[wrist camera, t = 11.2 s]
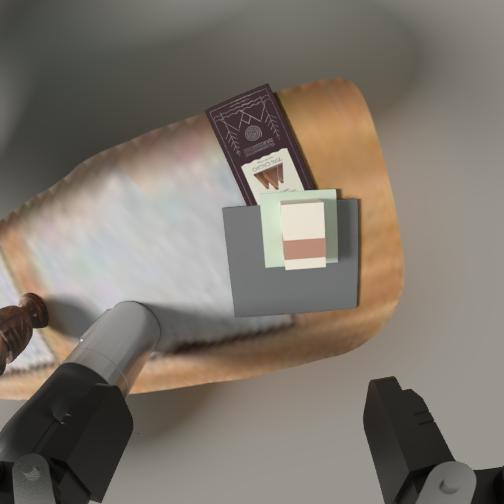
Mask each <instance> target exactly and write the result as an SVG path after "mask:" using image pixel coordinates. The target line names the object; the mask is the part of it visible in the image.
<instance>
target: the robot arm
mask: <svg viewBox="0 0 504 504" xmlns="http://www.w3.org/2000/svg"><path fill="white" fill-rule="evenodd" d="M159 337H160V327H159V324H158V321H157V320H156V318H155V316H154V315H153V314H152V313H151V311H149V310H148V309H147V308H146V307H144V306H143V305H141V304H138V303H136V302H131V301H124V302H120V303H118V304H117V305H115V306H114V307H113V308H112V309H111V310H106V311H105V312H104V313H103V314H102V315H101V316H100V317H99V318H98V319H97V320H96V321H95V323H94V324H93V325H92V326H91V327H90V328H89V329H88V330H87V331H86V332H85V333H84V334H83V335H82V336H81V337H80V343H79V344H78V346H77V347H76V348H75V349H74V350H73V351H72V352H71V353H70V355H69V356H68V357H67V358H66V359H65V360H64V361H63V362H62V363H61V365H60V366H59V367H58V368H57V369H56V370H55V372H54V373H53V374H52V375H51V376H50V377H49V378H48V379H47V380H46V382H45V383H44V384H43V385H42V386H41V387H40V388H39V390H38V391H37V392H36V393H35V394H34V395H33V396H32V397H31V398H30V399H29V400H28V401H27V402H26V403H25V404H24V405H23V406H22V407H21V408H20V409H19V410H18V411H17V412H16V413H15V414H14V416H13V417H12V418H11V419H10V420H9V421H8V422H7V423H6V425H5V426H4V427H3V429H2V431H1V432H0V504H88V503H89V501H90V500H92V501H96V502H99V503H101V502H102V500H103V498H104V495H105V493H106V491H107V488H108V486H109V484H110V481H111V479H112V477H113V474H114V472H115V470H116V467H117V465H118V463H119V461H120V458H121V456H122V454H123V452H124V450H125V447H126V445H127V443H128V441H129V438H130V436H131V434H132V431H133V418H132V416H131V413H130V411H129V409H128V406H127V404H126V402H125V399H126V397H127V395H128V394H129V392H130V390H131V388H132V386H133V384H134V383H135V381H136V379H137V377H138V375H139V374H140V372H141V370H142V368H143V367H144V365H145V363H146V361H147V359H148V358H149V356H150V354H151V353H152V351H153V349H154V347H155V345H156V344H157V342H158V340H159ZM363 423H364V430H365V434H366V437H367V440H368V444H369V447H370V451H371V454H372V458H373V461H374V465H375V469H376V472H377V475H378V479H379V483H380V487H381V490H382V494H383V498H384V502H385V504H504V466H503V467H498V468H491V469H484V470H472V469H471V468H470V467H469V466H468V465H466V464H464V463H462V462H456V461H455V459H454V458H453V456H452V454H451V452H450V450H449V448H448V446H447V444H446V442H445V440H444V438H443V436H442V434H441V432H440V430H439V428H438V426H437V424H436V423H435V422H434V419H433V417H432V415H431V413H430V412H429V410H428V407H427V406H426V404H425V402H424V400H423V399H422V397H420V396H419V395H418V394H417V393H415V392H414V391H413V390H412V389H407V390H403V391H402V389H401V387H400V385H399V383H398V381H397V379H396V378H395V377H394V376H391V377H386V378H381V379H374V380H371V381H370V382H369V386H368V392H367V398H366V404H365V409H364V414H363Z"/></svg>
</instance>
